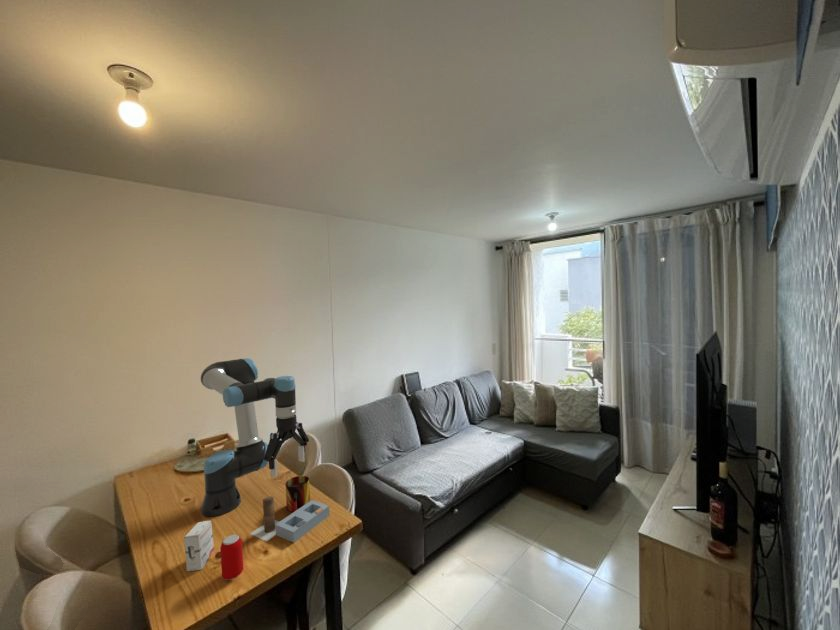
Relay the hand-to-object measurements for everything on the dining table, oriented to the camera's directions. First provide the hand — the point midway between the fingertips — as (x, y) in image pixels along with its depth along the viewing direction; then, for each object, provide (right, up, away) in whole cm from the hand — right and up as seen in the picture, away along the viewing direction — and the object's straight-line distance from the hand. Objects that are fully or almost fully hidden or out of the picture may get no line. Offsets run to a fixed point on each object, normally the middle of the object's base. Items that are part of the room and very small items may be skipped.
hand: (288, 468), depth 134 cm
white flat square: (-6, -24, -3) cm, 25 cm away
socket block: (+6, -23, -1) cm, 24 cm away
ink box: (-24, -25, -17) cm, 38 cm away
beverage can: (-9, -24, -24) cm, 35 cm away
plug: (-6, -23, -3) cm, 24 cm away
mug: (+1, -23, +11) cm, 26 cm away
